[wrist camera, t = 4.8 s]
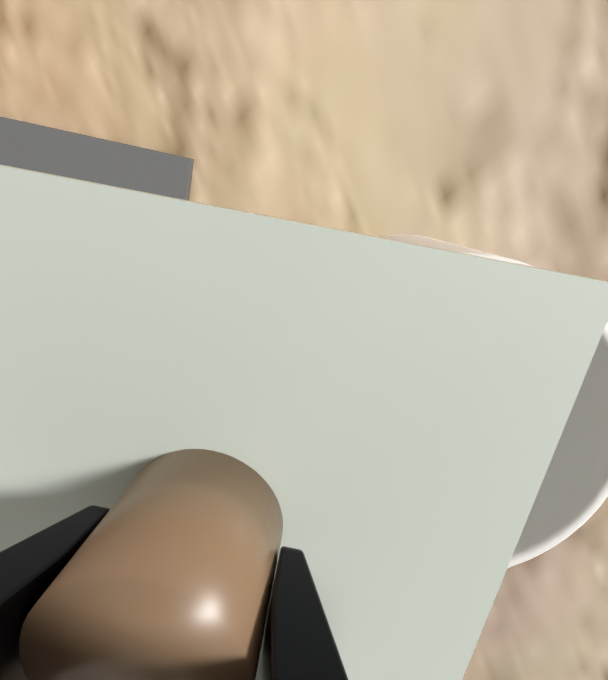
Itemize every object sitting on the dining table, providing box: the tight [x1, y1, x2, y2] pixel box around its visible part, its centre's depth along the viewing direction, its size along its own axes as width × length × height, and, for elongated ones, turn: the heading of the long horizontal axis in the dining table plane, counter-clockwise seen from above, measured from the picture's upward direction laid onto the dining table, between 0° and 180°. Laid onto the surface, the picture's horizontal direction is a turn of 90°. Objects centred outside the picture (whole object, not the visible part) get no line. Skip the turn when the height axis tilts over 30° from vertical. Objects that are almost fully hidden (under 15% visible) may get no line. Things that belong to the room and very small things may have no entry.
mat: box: [0, 117, 194, 201], centre depth 21 cm, size 16×16×1 cm
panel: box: [0, 165, 608, 680], centre depth 7 cm, size 12×12×4 cm
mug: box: [379, 234, 608, 568], centre depth 15 cm, size 12×8×10 cm
